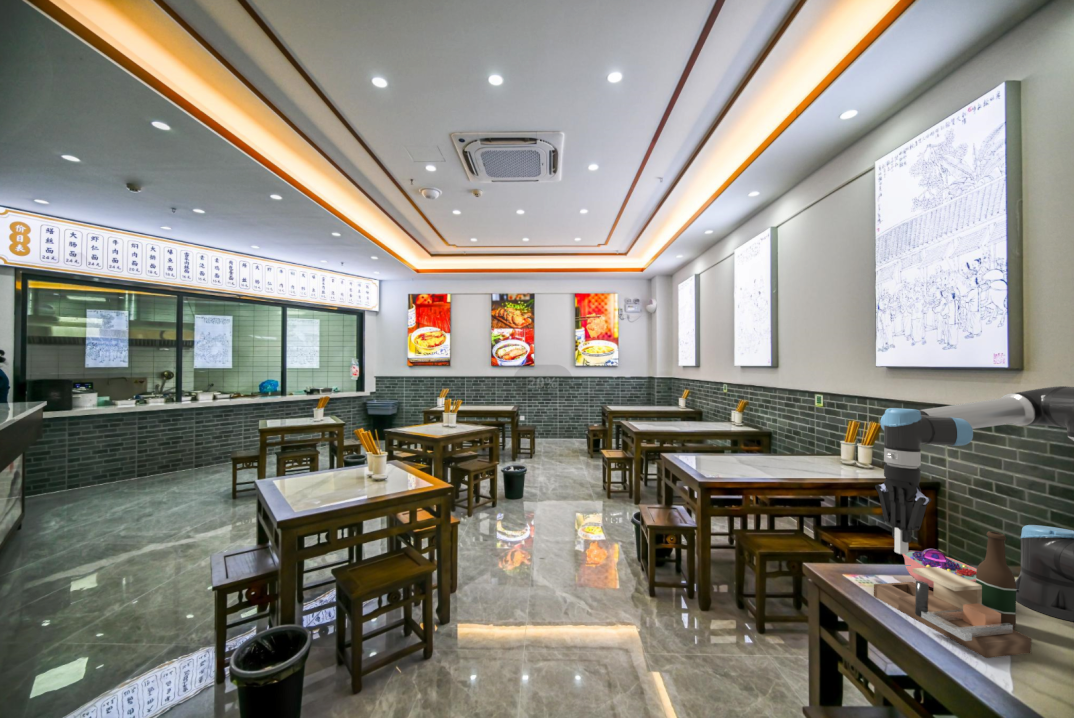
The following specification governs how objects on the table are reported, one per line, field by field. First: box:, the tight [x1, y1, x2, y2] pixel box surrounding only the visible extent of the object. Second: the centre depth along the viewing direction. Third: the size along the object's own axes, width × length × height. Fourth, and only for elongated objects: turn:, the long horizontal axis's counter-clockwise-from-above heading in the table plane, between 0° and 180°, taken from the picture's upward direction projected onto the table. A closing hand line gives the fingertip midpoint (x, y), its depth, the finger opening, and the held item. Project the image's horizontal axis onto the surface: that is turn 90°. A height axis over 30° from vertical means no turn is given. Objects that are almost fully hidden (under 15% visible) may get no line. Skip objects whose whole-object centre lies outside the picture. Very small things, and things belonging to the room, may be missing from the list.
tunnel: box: [913, 567, 982, 609], centre depth 112 cm, size 9×10×8 cm
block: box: [963, 603, 1001, 626], centre depth 104 cm, size 5×4×4 cm
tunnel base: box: [873, 581, 1032, 659], centre depth 111 cm, size 14×26×4 cm, turn 11°
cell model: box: [902, 548, 977, 589], centre depth 128 cm, size 17×20×11 cm
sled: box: [915, 580, 1013, 641], centre depth 104 cm, size 16×11×8 cm
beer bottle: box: [976, 530, 1017, 631], centre depth 112 cm, size 8×8×24 cm
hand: (901, 552), depth 113 cm, fingers closed
